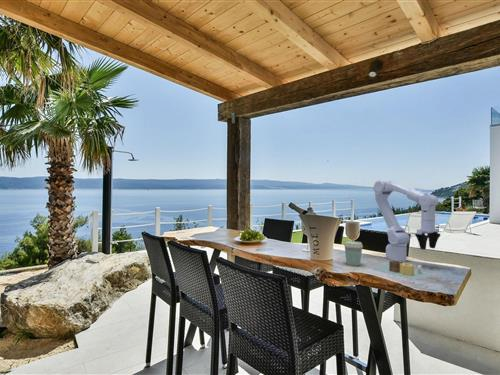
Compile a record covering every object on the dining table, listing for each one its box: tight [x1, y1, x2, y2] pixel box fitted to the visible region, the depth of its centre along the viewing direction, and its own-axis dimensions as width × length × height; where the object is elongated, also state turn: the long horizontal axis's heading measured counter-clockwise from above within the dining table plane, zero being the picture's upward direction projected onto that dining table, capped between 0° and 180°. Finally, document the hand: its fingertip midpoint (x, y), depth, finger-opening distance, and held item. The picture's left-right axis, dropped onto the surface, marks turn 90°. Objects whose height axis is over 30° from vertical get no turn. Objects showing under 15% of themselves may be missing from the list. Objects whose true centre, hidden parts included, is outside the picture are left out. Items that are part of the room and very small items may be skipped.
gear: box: [388, 260, 404, 272], centre depth 135 cm, size 6×5×4 cm
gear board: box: [368, 263, 437, 281], centre depth 135 cm, size 22×16×5 cm
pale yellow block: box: [400, 262, 415, 276], centre depth 130 cm, size 6×5×4 cm
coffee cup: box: [343, 240, 364, 267], centre depth 146 cm, size 8×8×12 cm
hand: (427, 248), depth 144 cm, fingers open, 7 cm apart
